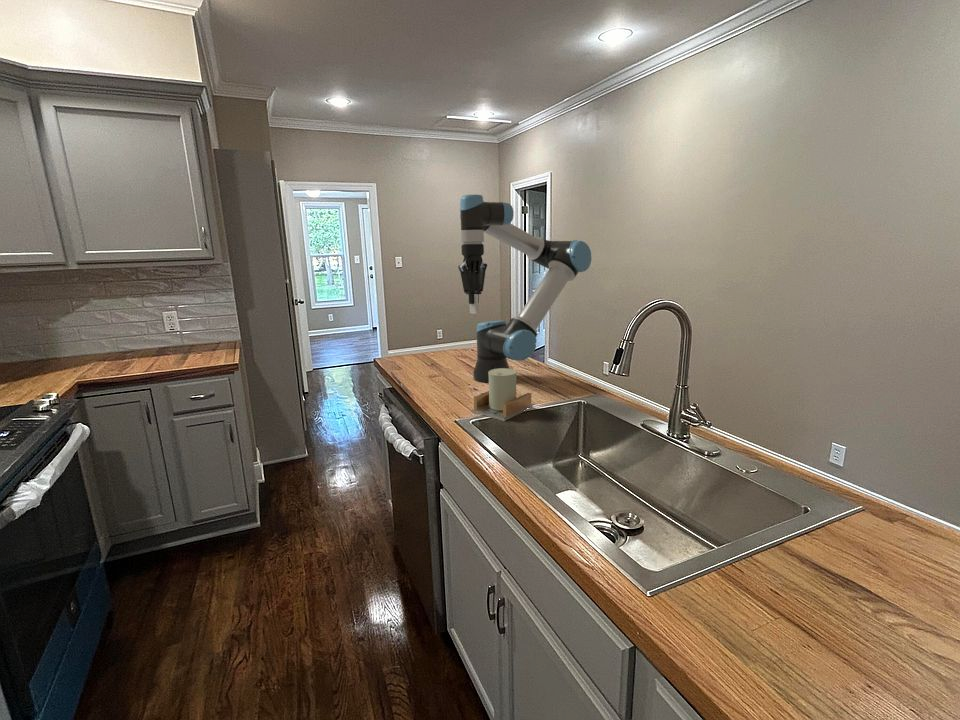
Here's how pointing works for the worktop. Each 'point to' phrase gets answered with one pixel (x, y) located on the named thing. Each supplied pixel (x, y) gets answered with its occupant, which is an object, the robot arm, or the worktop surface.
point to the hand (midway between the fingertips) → (474, 313)
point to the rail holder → (509, 407)
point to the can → (501, 387)
